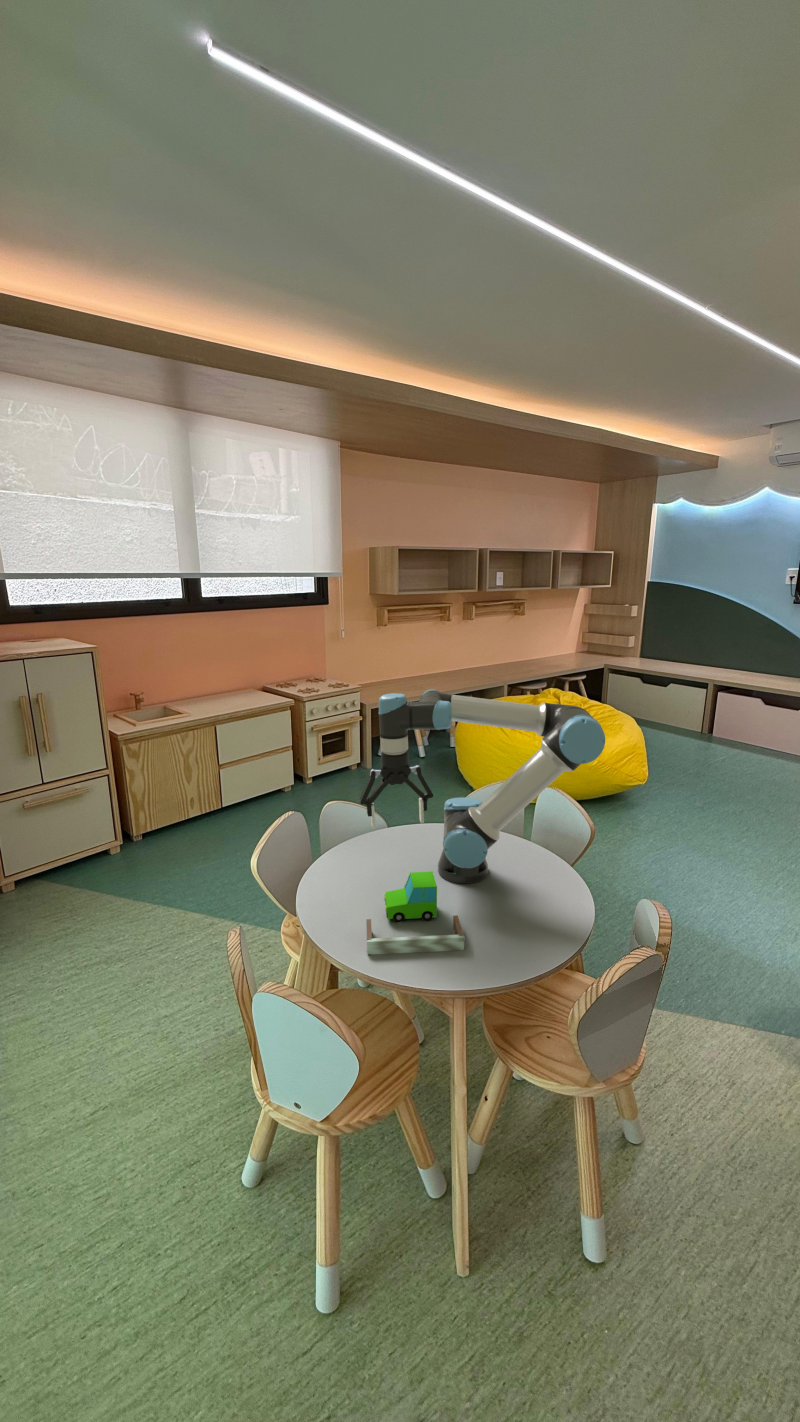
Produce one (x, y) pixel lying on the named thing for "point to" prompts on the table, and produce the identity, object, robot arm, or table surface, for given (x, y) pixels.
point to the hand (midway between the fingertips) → (397, 824)
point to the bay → (416, 942)
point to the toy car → (413, 898)
